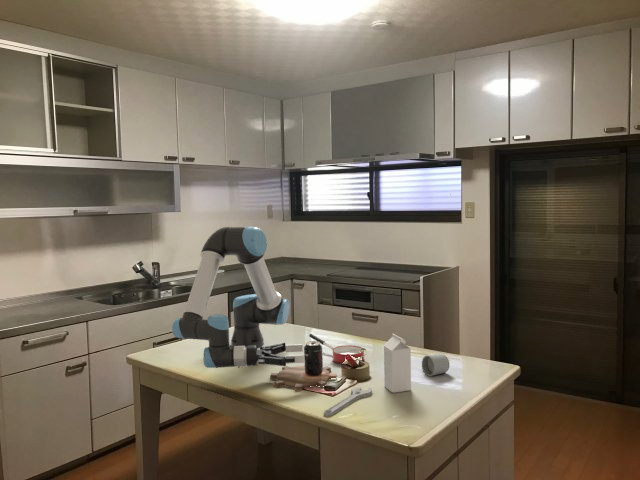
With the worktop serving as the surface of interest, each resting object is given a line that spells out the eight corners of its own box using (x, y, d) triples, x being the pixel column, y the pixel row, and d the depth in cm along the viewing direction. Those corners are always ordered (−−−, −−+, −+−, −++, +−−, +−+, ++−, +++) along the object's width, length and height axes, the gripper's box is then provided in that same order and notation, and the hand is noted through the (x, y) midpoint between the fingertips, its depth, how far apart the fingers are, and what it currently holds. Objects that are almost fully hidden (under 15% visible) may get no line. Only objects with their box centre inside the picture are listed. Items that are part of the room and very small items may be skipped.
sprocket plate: (277, 367, 213) (277, 363, 212) (339, 367, 210) (338, 363, 209) (263, 390, 188) (263, 385, 188) (333, 391, 185) (333, 386, 185)
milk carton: (392, 393, 181) (391, 339, 180) (384, 386, 188) (383, 334, 186) (411, 390, 183) (410, 337, 182) (402, 383, 190) (401, 332, 188)
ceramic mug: (451, 374, 198) (450, 354, 198) (434, 378, 195) (433, 358, 194) (432, 367, 208) (432, 348, 207) (416, 371, 204) (415, 351, 203)
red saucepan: (296, 351, 233) (295, 337, 233) (317, 345, 242) (316, 331, 242) (349, 367, 210) (349, 351, 210) (370, 359, 219) (370, 344, 219)
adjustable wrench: (329, 418, 164) (329, 413, 163) (313, 413, 168) (313, 408, 168) (375, 393, 182) (375, 388, 182) (360, 389, 187) (360, 384, 186)
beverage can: (324, 371, 200) (324, 340, 199) (320, 377, 194) (319, 346, 193) (307, 370, 202) (306, 340, 201) (302, 376, 196) (301, 345, 195)
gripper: (248, 355, 208) (302, 352, 210) (244, 377, 184) (304, 374, 185) (248, 337, 208) (301, 334, 209) (243, 356, 183) (304, 353, 184)
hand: (303, 353), depth 197 cm, fingers open, 13 cm apart
